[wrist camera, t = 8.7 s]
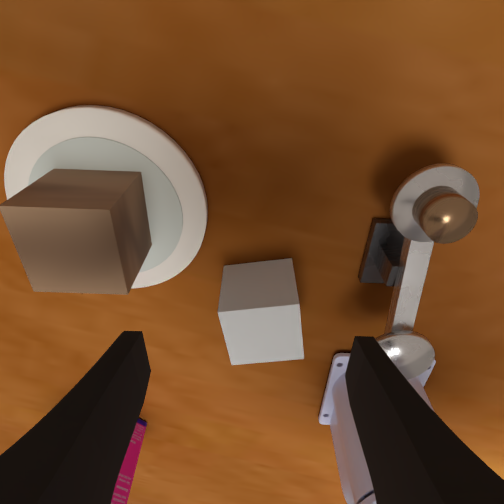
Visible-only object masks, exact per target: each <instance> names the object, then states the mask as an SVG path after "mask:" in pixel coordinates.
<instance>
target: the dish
mask: <svg viewBox="0 0 504 504" xmlns="http://www.w3.org/2000/svg"><path fill="white" fill-rule="evenodd" d="M53 169H80V170H107V171H134V172H141V175H142V181H143V188H144V195H145V201H146V208H147V215H148V221H149V228H150V235H151V242H152V246H151V248H150V250H149V252H148V254H147V256H146V259H145V261H144V263H143V265H142V267H141V269H140V271H139V273H138V275H137V277H136V279H135V281H134V283H133V285H132V287H131V288H141V287H148V286H152V285H156V284H159V283H162V282H164V281H167V280H169V279H170V278H172V277H174V276H176V275H177V274H179V273H180V272H181V271H183V270H184V269H185V268H186V267H187V266H188V265H189V264H190V263H191V261H192V260H193V259H194V257H195V256H196V254H197V252H198V251H199V249H200V247H201V244H202V241H203V238H204V234H205V230H206V225H207V220H208V205H207V197H206V193H205V189H204V185H203V183H202V180H201V178H200V175H199V173H198V171H197V169H196V168H195V166H194V164H193V162H192V161H191V159H190V158H189V157H188V155H187V154H186V153H185V151H184V150H183V149H182V148H181V147H180V146H179V145H178V144H177V143H176V141H175V140H173V139H172V138H171V137H170V136H169V135H168V134H166V133H165V132H164V131H163V130H161V129H160V128H158V127H157V126H155V125H154V124H152V123H151V122H149V121H147V120H145V119H143V118H141V117H139V116H138V115H135V114H132V113H130V112H127V111H124V110H121V109H117V108H113V107H108V106H99V105H79V106H74V107H68V108H65V109H62V110H59V111H56V112H54V113H51V114H48V115H46V116H43V117H42V118H40V119H38V120H36V121H35V122H33V123H32V124H30V125H29V126H28V127H27V128H26V129H24V130H23V131H22V132H21V134H20V135H19V136H18V137H17V139H16V140H15V141H14V143H13V145H12V147H11V149H10V151H9V154H8V157H7V160H6V165H5V172H4V181H5V191H6V196H7V200H8V199H9V198H11V197H12V196H14V195H15V194H17V193H18V192H20V191H21V190H23V189H24V188H26V187H27V186H29V185H30V184H32V183H33V182H35V181H36V180H38V179H39V178H41V177H42V176H44V175H45V174H47V173H48V172H50V171H51V170H53Z"/></svg>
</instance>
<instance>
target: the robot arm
mask: <svg viewBox="0 0 504 504" xmlns="http://www.w3.org/2000/svg"><path fill="white" fill-rule="evenodd" d="M435 363H436V361H435V359H434V361H433V363H432V364H431V366H430V367H429V368H428V369H427V370H426V371H425V372H424V373H422V374H420V375H419V376H417V377H415V378H412V379H409V380H407V379H406V378H405V377H404V376H403V374H402V373H401V372H400V371H399V369H398V368H397V367H396V365H395V364H394V363H393V362H392V360H391V359H390V358H389V356H388V355H387V354H386V352H385V351H384V350H383V349H382V347H381V346H380V345H379V343H378V342H377V341H376V339H375V338H374V337H362V336H355V338H354V342H353V346H352V350H351V353H338V354H336V355H334V357H333V361H332V365H331V369H330V373H329V377H328V381H327V386H326V390H325V394H324V398H323V402H322V406H321V410H320V414H319V418H318V419H319V423H320V424H326V425H330V428H331V433H332V438H333V444H334V449H335V454H336V460H337V465H338V470H339V475H340V481H341V486H342V490H343V494H344V497H345V499H346V502H347V504H504V480H503V479H502V478H501V477H500V476H498V475H497V474H496V473H495V472H494V471H493V470H492V469H491V468H489V467H488V466H487V465H486V464H485V463H484V462H483V461H482V460H481V459H480V458H479V457H478V456H477V455H476V454H475V453H474V452H473V451H471V450H470V449H469V448H468V447H467V446H466V445H465V444H464V443H463V442H462V441H461V440H460V439H459V438H458V437H457V436H456V435H455V434H454V433H453V431H452V430H451V429H450V428H449V427H448V426H447V425H446V424H445V423H444V422H443V421H442V420H441V419H440V418H439V416H438V415H437V414H436V413H435V412H434V410H433V407H432V405H431V403H430V401H429V399H428V397H427V395H426V393H425V391H424V388H423V387H424V385H425V383H426V381H427V379H428V377H429V375H430V373H431V371H432V369H433V367H434V365H435ZM150 372H151V369H150V365H149V360H148V356H147V351H146V347H145V342H144V338H143V333H142V331H124V332H122V333H121V334H120V336H119V337H118V338H117V339H116V340H115V341H114V343H113V344H112V345H111V346H110V347H109V349H108V350H107V351H106V352H105V353H104V354H103V355H102V357H101V358H100V359H99V360H98V361H97V362H96V363H95V365H94V366H93V367H92V368H91V369H90V370H89V371H88V372H87V373H86V374H85V376H84V377H83V378H82V379H81V380H80V381H79V382H78V383H77V384H76V385H75V386H74V387H73V389H72V390H71V391H70V392H69V393H68V394H67V395H66V396H65V397H64V398H63V399H62V400H61V401H60V402H59V403H58V404H57V405H56V406H55V407H54V408H53V409H52V410H51V411H50V412H49V413H48V414H47V415H46V416H44V417H43V418H42V419H41V420H40V421H39V422H38V423H37V424H36V425H35V426H34V427H33V428H32V429H30V430H29V431H28V432H27V433H26V434H25V435H24V436H23V437H21V438H20V439H19V440H18V441H17V442H16V443H15V444H13V445H12V446H11V447H10V448H9V449H7V450H6V451H5V452H4V453H3V454H1V455H0V504H111V501H112V497H113V493H114V489H115V485H116V482H117V479H118V475H119V472H120V469H121V466H122V463H123V461H124V458H125V455H126V452H127V449H128V446H129V443H130V440H131V438H132V435H133V432H134V429H135V426H136V423H137V420H138V417H139V415H140V412H141V409H142V406H143V403H144V399H145V395H146V391H147V386H148V382H149V377H150Z"/></svg>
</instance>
